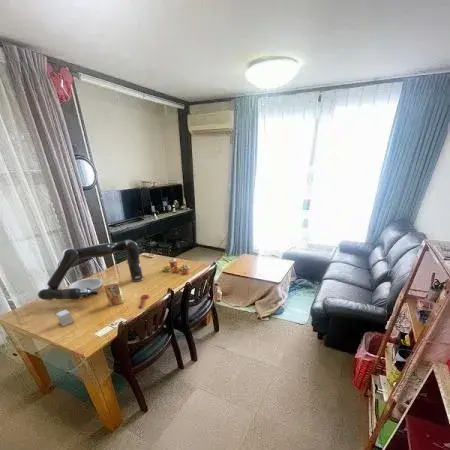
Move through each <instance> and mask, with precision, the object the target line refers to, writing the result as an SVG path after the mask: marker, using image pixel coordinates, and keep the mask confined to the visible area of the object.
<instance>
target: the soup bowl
mask: <svg viewBox="0 0 450 450" xmlns="http://www.w3.org/2000/svg"><path fill="white" fill-rule="evenodd" d="M103 284H104V280H102V279H101V278H98V277H90V278H83V279H79V280H76V281H74V282H72V283H70V284H69V285H68V286H67V289H69V288H79V289H80V290H86V288H90V289H92V291H98V290H99V289H100V288H101V286H102V285H103Z"/></svg>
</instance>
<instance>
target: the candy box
mask: <svg viewBox="0 0 450 450" xmlns="http://www.w3.org/2000/svg"><path fill="white" fill-rule="evenodd" d="M103 287H104V291H105V294H106V295H105V296H106V299H107V302H108V305H109V306H115V305H121V304H123V302H124V301H123V298H122V294H121V289H120V287H119V282H118V281H114V282H113V281H112V282H109V283H103Z"/></svg>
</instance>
